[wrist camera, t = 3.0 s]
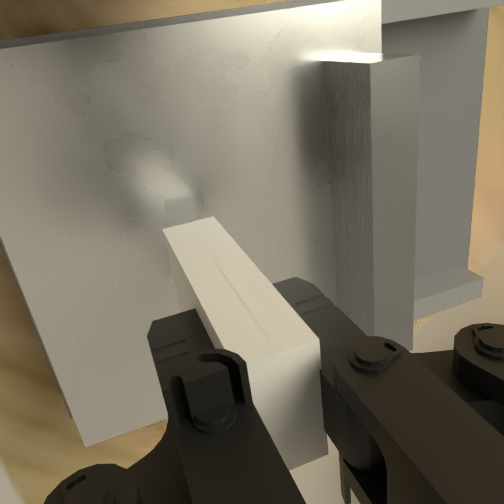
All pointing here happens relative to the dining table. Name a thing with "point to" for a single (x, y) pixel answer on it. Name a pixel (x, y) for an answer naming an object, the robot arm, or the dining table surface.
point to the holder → (429, 132)
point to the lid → (203, 181)
